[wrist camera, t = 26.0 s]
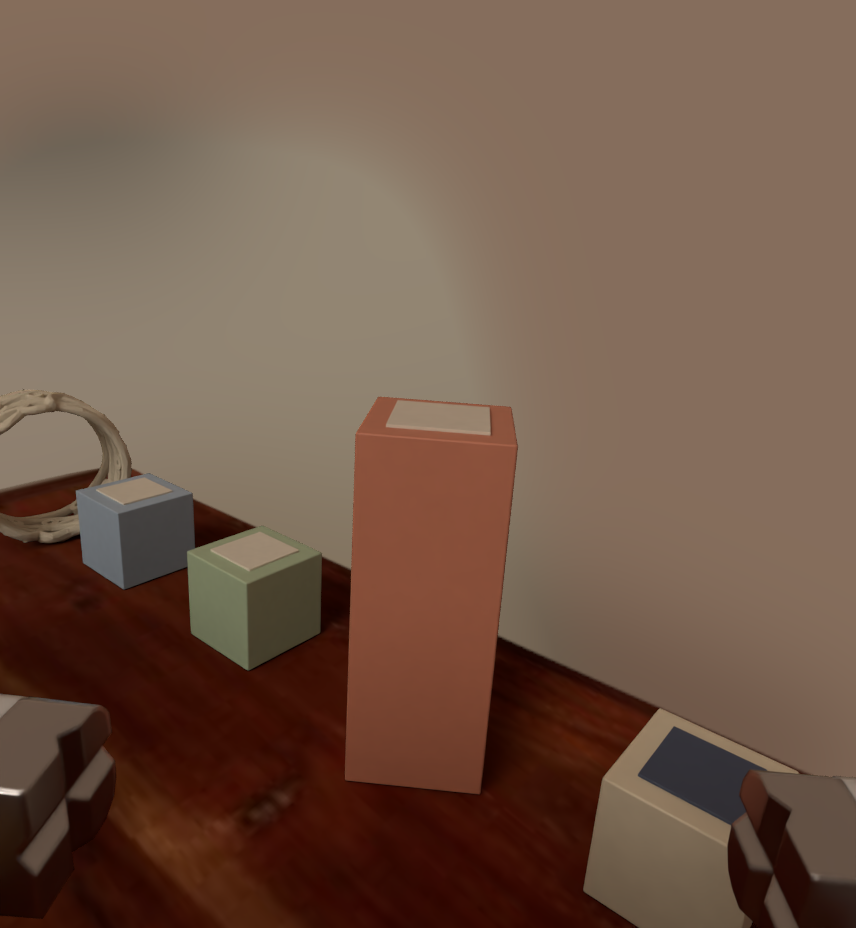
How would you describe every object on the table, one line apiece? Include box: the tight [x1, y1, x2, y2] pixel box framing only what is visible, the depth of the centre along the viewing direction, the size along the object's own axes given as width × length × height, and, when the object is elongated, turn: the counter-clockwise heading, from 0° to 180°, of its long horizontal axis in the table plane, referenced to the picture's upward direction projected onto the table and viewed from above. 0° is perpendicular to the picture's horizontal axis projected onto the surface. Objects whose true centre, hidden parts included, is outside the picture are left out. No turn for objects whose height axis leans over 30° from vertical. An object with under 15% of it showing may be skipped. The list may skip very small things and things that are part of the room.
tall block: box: [345, 397, 518, 794], centre depth 24 cm, size 4×4×12 cm
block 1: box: [76, 473, 195, 589], centre depth 36 cm, size 4×4×4 cm
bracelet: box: [0, 389, 132, 543], centre depth 38 cm, size 4×8×8 cm, turn 134°
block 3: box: [583, 709, 799, 928], centre depth 20 cm, size 4×4×4 cm
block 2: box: [187, 526, 322, 670], centre depth 31 cm, size 4×4×4 cm
